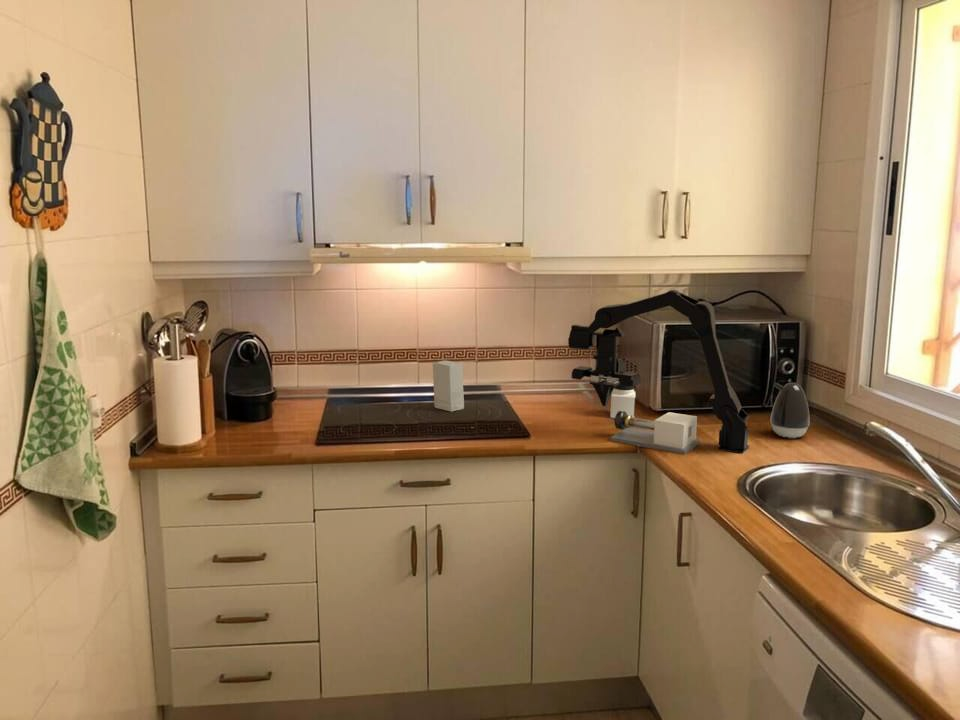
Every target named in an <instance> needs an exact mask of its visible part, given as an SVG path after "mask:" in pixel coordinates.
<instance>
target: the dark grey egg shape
mask: <svg viewBox="0 0 960 720" xmlns="http://www.w3.org/2000/svg"><path fill="white" fill-rule="evenodd" d="M773 386H774V387H775V388H776V389H778V390H779V392H778V394H777V396H776V398H775V401H774V403H773V407H772V411H771V415H770V422H769V423H771V428H772V430H773V431H774V433H775V434H776V435H778V436H780V437H781V436H782V438H785V437H788V438H787V439H797V437H798V438H800V437H802V436H803V435H805V433H806V432H807V430H808V428H809V427H810V421H811V420H810V409H809V403H808V400H807V397H806V393H805V391H804V389H803V387H802V386H801V385H800V384H798V383H796V382H789V383H786V384H785V385H784V386H783V385H781V384H780V383H778V382H774V384H773Z"/></svg>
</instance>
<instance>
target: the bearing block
mask: <svg viewBox="0 0 960 720" xmlns="http://www.w3.org/2000/svg"><path fill="white" fill-rule="evenodd" d="M654 421H655V426H654V430H649V429H643V428H637V427H631V428H626V427H625V428H624V429H622V430H621V431H619V432H617V433H615V434H614V435H612V436H610V439H609V441H610V442H614V443H622V444H627V445H631V446H638V447H644V448H648V449H654V450H660V451H665V452H670V453H676V454H681V455H686V454H688V453H689V452H690V451H692V450H693V449H695V448H696V447H697V446H698V445H700V444H701V439H699V438H697V427H698V425H697V424H698V422H697V421H698V416H697V415H689V414H682V413H676V412H670V411H668V412H667V413H665V414H663V415H661V416H660V417H658V418H656V419H655V420H654Z"/></svg>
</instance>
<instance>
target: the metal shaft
mask: <svg viewBox="0 0 960 720" xmlns="http://www.w3.org/2000/svg"><path fill="white" fill-rule="evenodd" d="M654 426H655V420H648V419H643V418H639V417H638V418H637V417H634V418H633V417H632V415H627V413H626V412H624V411H618V412H617V414H616V417H615V418H614V427H615V429H618V430H624V429H626V428H638V429H643V430H649V431H654Z"/></svg>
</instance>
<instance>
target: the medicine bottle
mask: <svg viewBox="0 0 960 720" xmlns="http://www.w3.org/2000/svg"><path fill="white" fill-rule="evenodd" d="M618 411H624V412H626V413H627V415H632V417H633V418H635V414H636V413H635V411H636V391H635V386H624V385H621V384H619V385H616V386H615V388H614V389H613V391H612V393H611V396H610V413H609V415H610V419H615V417H616V414H617V412H618Z"/></svg>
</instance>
